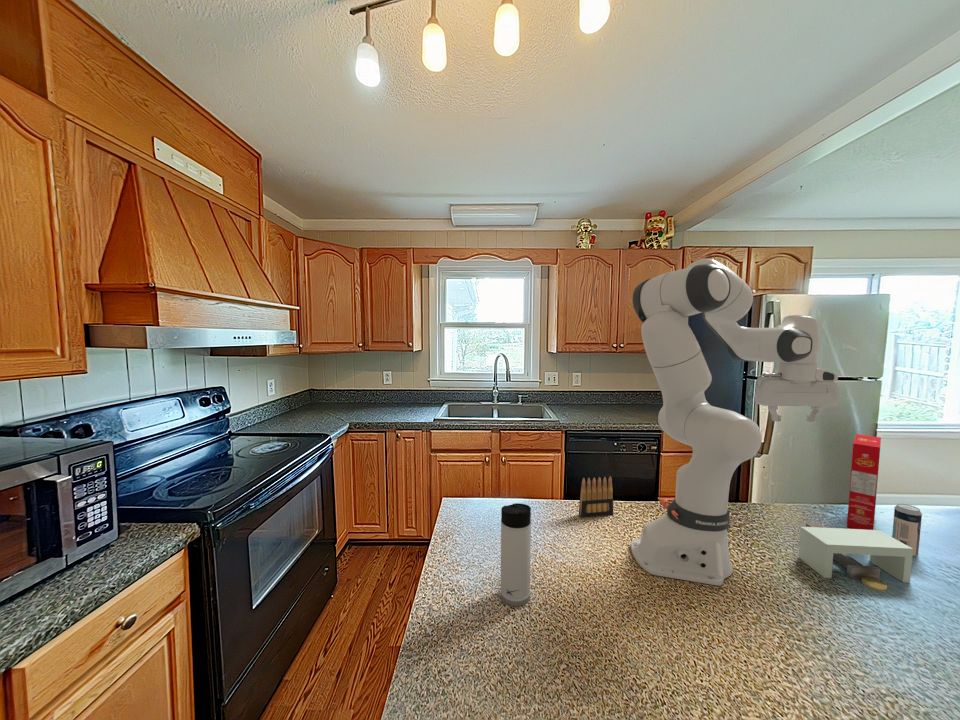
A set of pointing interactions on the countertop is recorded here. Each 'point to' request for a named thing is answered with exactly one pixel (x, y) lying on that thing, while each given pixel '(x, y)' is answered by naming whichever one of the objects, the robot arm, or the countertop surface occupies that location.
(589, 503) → the ammunition clip
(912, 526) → the beer can
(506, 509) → the travel mug
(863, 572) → the scraper
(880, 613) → the countertop surface
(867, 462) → the food packaging
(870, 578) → the brass disc
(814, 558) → the pale green bridge
